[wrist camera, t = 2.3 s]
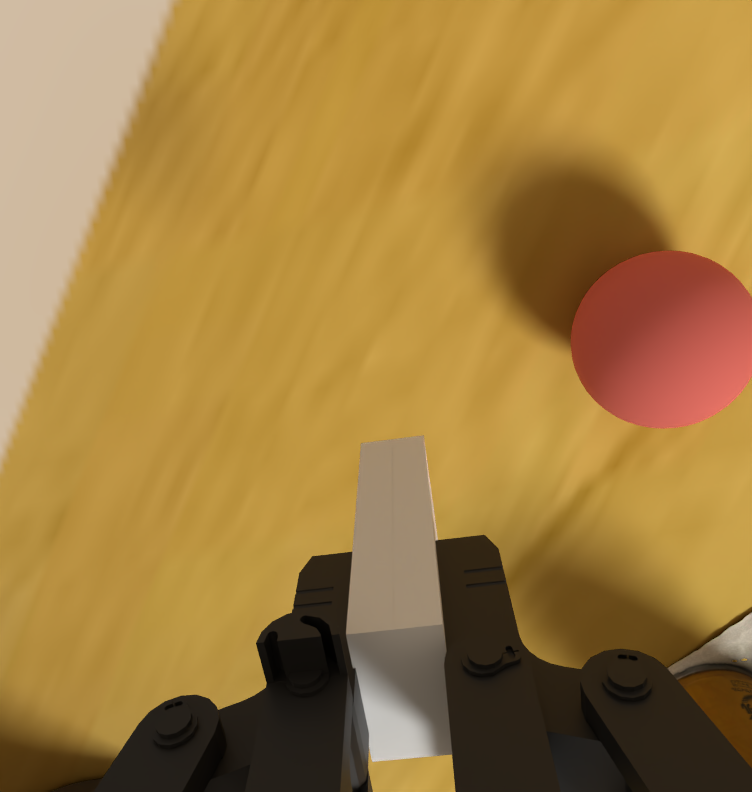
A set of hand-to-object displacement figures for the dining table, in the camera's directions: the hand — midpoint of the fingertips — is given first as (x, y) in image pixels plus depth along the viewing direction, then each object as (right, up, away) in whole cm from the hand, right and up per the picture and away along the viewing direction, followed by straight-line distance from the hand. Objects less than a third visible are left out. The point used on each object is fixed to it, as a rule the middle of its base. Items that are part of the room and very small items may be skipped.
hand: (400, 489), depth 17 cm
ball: (+9, +4, +7) cm, 12 cm away
